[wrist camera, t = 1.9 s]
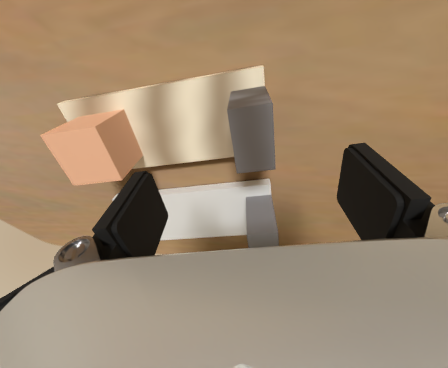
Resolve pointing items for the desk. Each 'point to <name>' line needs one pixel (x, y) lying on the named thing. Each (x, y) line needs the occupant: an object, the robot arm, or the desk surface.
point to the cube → (95, 147)
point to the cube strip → (195, 119)
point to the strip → (222, 212)
